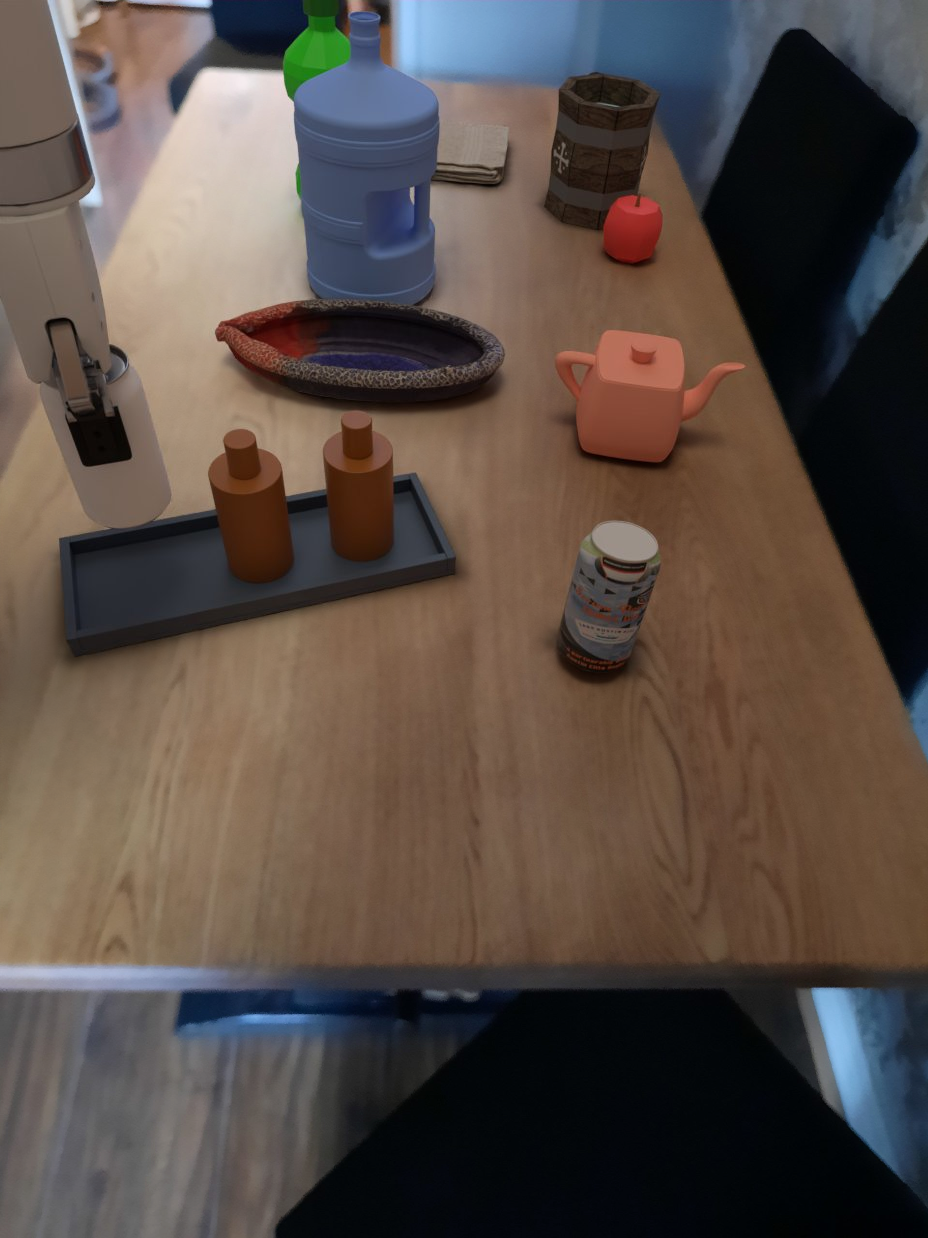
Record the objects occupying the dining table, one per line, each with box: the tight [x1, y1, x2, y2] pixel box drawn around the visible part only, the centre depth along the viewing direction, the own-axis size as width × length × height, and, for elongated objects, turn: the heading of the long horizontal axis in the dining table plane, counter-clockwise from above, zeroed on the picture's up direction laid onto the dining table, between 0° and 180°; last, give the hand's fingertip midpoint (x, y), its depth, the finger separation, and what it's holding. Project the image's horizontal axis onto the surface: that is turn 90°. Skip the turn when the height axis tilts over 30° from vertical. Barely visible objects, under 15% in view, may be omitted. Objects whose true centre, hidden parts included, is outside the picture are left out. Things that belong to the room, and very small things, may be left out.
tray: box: [58, 472, 457, 657], centre depth 73 cm, size 32×12×2 cm, turn 109°
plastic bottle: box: [282, 0, 351, 201], centre depth 108 cm, size 10×10×25 cm
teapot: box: [554, 329, 746, 463], centre depth 85 cm, size 12×18×10 cm, turn 81°
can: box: [39, 343, 173, 529], centre depth 60 cm, size 6×6×12 cm
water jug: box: [293, 10, 441, 306], centre depth 95 cm, size 16×16×28 cm
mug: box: [543, 71, 661, 231], centre depth 119 cm, size 20×14×15 cm
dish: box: [214, 298, 506, 403], centre depth 92 cm, size 16×31×5 cm, turn 84°
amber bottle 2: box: [322, 410, 394, 562], centre depth 71 cm, size 6×6×13 cm
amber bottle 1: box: [207, 428, 294, 583], centre depth 69 cm, size 6×6×13 cm
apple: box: [602, 193, 664, 265], centre depth 111 cm, size 8×8×8 cm
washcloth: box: [431, 121, 510, 185], centre depth 130 cm, size 12×18×3 cm, turn 176°
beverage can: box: [556, 520, 662, 674], centre depth 66 cm, size 6×7×12 cm
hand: (103, 426), depth 59 cm, fingers closed on can, 6 cm apart
